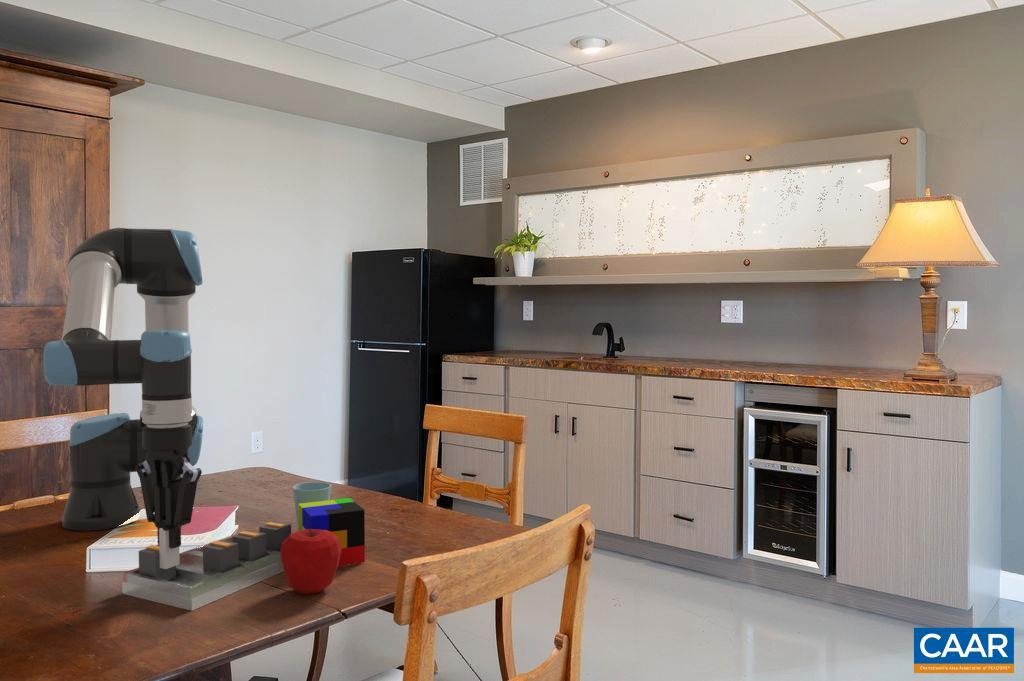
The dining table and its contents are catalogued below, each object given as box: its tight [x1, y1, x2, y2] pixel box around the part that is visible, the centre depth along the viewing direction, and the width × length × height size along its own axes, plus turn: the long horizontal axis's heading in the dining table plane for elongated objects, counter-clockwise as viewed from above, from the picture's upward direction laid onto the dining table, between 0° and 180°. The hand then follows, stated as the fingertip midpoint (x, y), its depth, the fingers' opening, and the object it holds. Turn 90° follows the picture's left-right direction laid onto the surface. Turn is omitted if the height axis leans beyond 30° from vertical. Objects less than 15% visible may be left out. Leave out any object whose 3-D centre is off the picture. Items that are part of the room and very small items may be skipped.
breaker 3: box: [231, 530, 266, 562], centre depth 139 cm, size 4×4×5 cm
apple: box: [280, 528, 342, 595], centre depth 132 cm, size 10×10×11 cm
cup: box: [292, 481, 332, 526], centre depth 163 cm, size 8×8×10 cm
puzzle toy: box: [297, 497, 366, 567], centre depth 149 cm, size 10×10×10 cm
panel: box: [121, 532, 284, 612], centre depth 138 cm, size 16×26×4 cm, turn 154°
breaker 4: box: [258, 521, 292, 551], centre depth 145 cm, size 4×4×5 cm
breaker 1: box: [138, 544, 176, 581], centre depth 131 cm, size 4×4×5 cm
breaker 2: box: [202, 539, 239, 573], centre depth 133 cm, size 4×4×5 cm
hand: (169, 565), depth 130 cm, fingers closed
